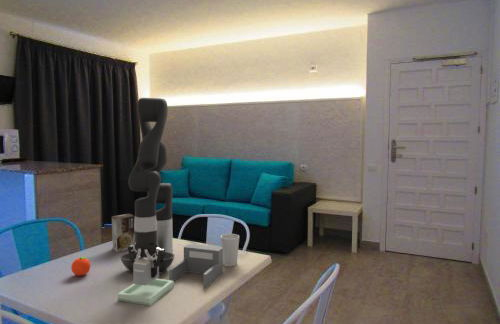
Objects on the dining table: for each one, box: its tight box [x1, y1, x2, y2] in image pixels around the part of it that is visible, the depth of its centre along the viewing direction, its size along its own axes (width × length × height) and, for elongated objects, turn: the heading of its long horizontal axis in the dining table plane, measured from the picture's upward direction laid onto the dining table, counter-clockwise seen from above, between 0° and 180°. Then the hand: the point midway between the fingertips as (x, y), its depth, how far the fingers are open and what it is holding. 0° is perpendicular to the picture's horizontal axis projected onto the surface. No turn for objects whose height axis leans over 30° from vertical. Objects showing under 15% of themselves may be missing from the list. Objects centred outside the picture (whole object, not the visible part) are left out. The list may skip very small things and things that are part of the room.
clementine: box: [70, 256, 92, 277], centre depth 148 cm, size 8×7×7 cm
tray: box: [117, 278, 175, 307], centre depth 131 cm, size 12×15×2 cm
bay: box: [168, 243, 224, 288], centre depth 145 cm, size 15×16×10 cm
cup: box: [220, 233, 240, 267], centre depth 160 cm, size 8×8×12 cm
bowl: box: [119, 251, 175, 274], centre depth 152 cm, size 12×22×6 cm, turn 90°
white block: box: [132, 257, 160, 286], centre depth 130 cm, size 5×9×8 cm, turn 162°
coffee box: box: [111, 213, 136, 253], centre depth 180 cm, size 9×6×16 cm
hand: (146, 276), depth 130 cm, fingers closed on white block, 5 cm apart
